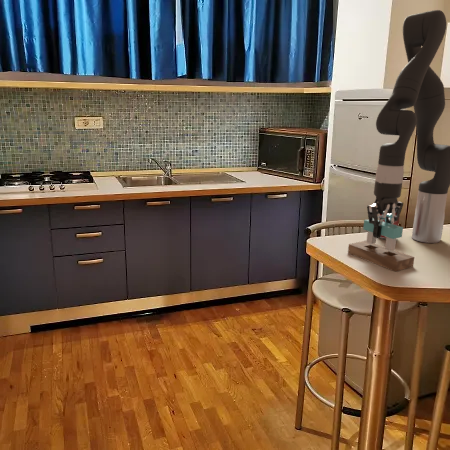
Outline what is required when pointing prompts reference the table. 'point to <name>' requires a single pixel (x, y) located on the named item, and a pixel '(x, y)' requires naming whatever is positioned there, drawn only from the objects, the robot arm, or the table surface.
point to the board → (381, 255)
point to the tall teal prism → (384, 233)
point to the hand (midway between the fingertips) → (381, 236)
